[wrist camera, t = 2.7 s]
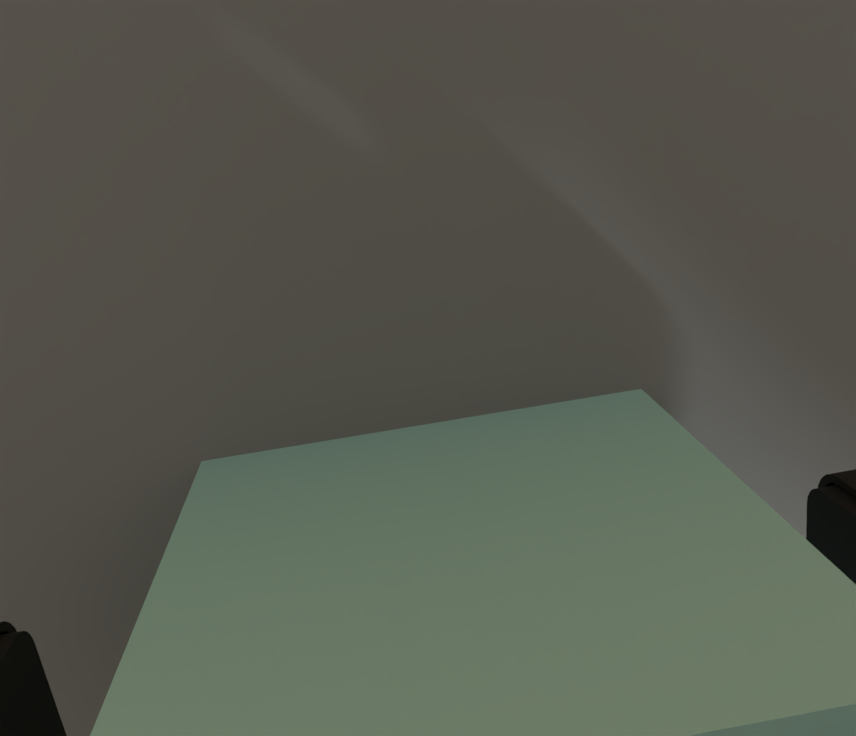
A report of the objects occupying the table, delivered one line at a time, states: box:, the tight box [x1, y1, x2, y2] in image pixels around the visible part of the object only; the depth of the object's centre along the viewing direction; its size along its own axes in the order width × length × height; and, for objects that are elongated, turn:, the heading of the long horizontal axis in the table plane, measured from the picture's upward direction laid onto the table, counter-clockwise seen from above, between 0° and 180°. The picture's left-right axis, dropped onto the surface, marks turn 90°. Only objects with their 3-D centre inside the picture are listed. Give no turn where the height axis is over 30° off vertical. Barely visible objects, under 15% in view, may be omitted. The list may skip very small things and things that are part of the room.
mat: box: [0, 0, 856, 736], centre depth 13 cm, size 20×22×1 cm
